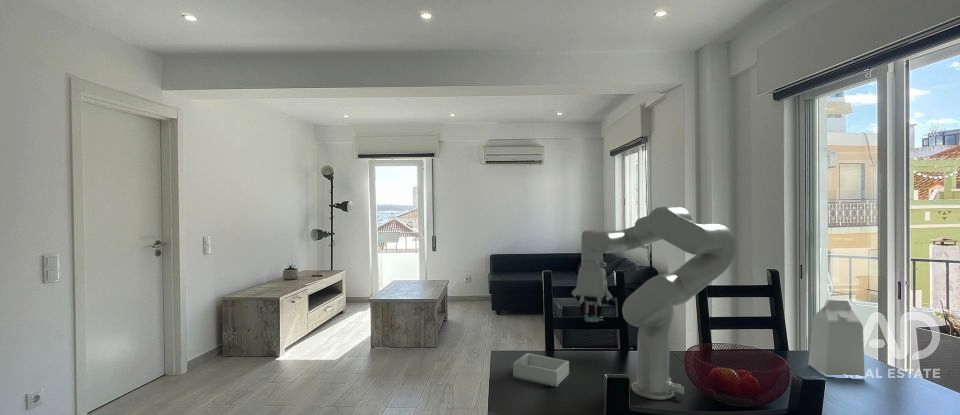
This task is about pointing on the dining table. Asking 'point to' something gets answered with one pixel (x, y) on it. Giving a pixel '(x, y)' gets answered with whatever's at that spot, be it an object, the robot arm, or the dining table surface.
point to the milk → (837, 340)
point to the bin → (541, 369)
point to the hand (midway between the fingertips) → (591, 314)
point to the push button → (591, 309)
